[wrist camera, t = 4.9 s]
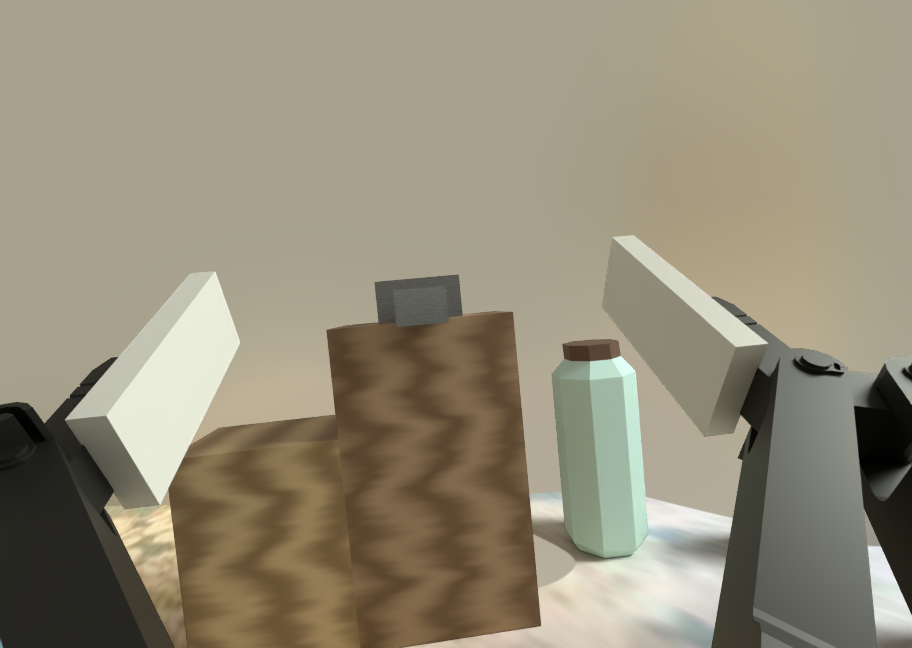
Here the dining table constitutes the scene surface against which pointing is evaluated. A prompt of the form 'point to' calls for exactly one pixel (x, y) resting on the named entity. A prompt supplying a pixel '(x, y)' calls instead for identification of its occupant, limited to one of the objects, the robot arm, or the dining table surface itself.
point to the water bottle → (600, 449)
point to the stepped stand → (368, 502)
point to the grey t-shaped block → (418, 300)
